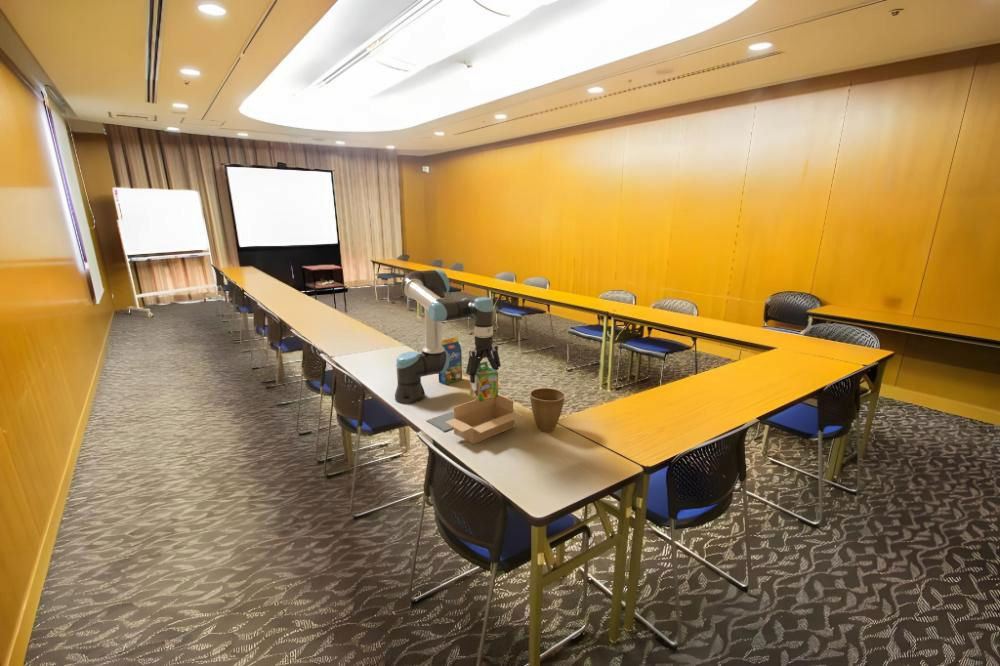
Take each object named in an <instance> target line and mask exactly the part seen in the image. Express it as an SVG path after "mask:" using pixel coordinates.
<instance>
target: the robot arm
mask: <svg viewBox="0 0 1000 666" xmlns="http://www.w3.org/2000/svg"><path fill="white" fill-rule="evenodd" d="M450 286H451V285H450V279H449V277H448V275H447V274H446V272H445V271H443V270H440V269H430V270H419V271H418V270H416V271H415V270H414V271H411V272H409V273H408V274H406V275H405V276H404V277H403V278H402V281H401V285H400V288H401V291H402V293H403V294H404V295H405V297H407V298H409V299H411V300H414V301H416V302H417V303H418V304H419V305H421V306H422V307H423V308H424V346H423V347H422V349H421V353H419V351H407V352H403V353H401V354H399V355H398V356H397V357H396V365H395V367H396V379H397V386H396V389H395V393H394V400H395V401H396V402H397V403H399V404H415V403H418V402H422V401H423V400H424V399H425V398H426V393H425V389H424V387H423V384H422V379H421V378H422V377H427V376H431V375H437V374H438V375H439V373H442V372H445V371H446V370H447V368H448V366H449V357H448V356H449V355H448V353H447V351H446V350H445V348H444V347H443V346H442V340H443V324H442V323H443V322H444V321H452V320H459V319H461V320H462V319H467V318H469V319H470V318H471V319H474V335H475V336H474V345H475V348H474V350H469V351H468V353H469V355H468V356H469V357H468V361H467V362H468V363H467V366H466V372H465V373H466V375H468V376H469V383H470V382H471V383H472V389H473V390H475V391H477V375H476V372H477V370H478V367H479V364H480V363H482V362H483V359H485V358H487V360H488V363H489V365H490V368H492V369H494V370H495V371H497V372H498V371H499V369H500V367H501V366H502V365H501V361H500V356H499V352H498V351H499V346H498V345H495V344H494V336H493V334H494V302H493V299H492V298H491V297H485V296H483V297H481V296H480V297H477V298H475V299H473V298H470V297H469V298H468V297H465V298H462V299H459V300H452V301H446V300H445V298H446V294H448V293H449V291H450V288H451V287H450Z"/></svg>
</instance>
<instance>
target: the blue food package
mask: <svg viewBox="0 0 1000 666" xmlns="http://www.w3.org/2000/svg"><path fill="white" fill-rule="evenodd" d="M442 346H443V347H444V348H445V350H446V351H447V353H448V355H449V356H448V357H449V366H448V368H447V370H446V371H445V372H442V373H439V374H438V382H439V383H440V384H442V385H444V384H445V385H450V384H453V383H456V382H459V381H462V380H463V365H462V364H463V361H462V360H463V359H462V356H463V355H462V347H461V344H460V343H459V337H458V336H455V337H451V338H447V339H442Z"/></svg>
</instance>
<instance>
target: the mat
mask: <svg viewBox="0 0 1000 666" xmlns="http://www.w3.org/2000/svg"><path fill="white" fill-rule="evenodd" d="M452 419H454V411H449V412H446V413H443V414H441V415H437V416H434V417H432V418H428V419H426V422H427V423H428V424H429V425H431V426H433V427H435V428H437V429H439V430H440V431H442V432H444V433H446V432H449V431H452V430H454V428H453V427H452V426H450V425H448V424H446V423H445V422H446V421H449V420H452Z"/></svg>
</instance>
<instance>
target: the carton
mask: <svg viewBox="0 0 1000 666" xmlns="http://www.w3.org/2000/svg"><path fill="white" fill-rule="evenodd" d="M452 407H453V413H454V419H452V420H449V421H446V422H445V423H446V424H448V425H450V426H452V427H453V428H454V429H453V434H455V435H456V436H458V437H460V438H462V439H464V440H465V441H467V442H468V443H471V444H472V445H474V444H477V443H479V442H482V441H484V440H486V439H488V438H491V437H494V436H496V435H499V434H500V433H504V432H505V431H507V430H510V429H512V428H515V420H517V419H520V418H522V417H523V415H522V414H520V413H518V412H516V411H514V400H512V399H510V398H507V397H506V396H505V397H504V396H502V395H500V394H498V397H497V398H493V399H488V400H484V401H481V402H480V401H479V400H477V399H476V398H475V399H473V400H470V401H467V402H464V403H461V404H459V405H455V406H452Z"/></svg>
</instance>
